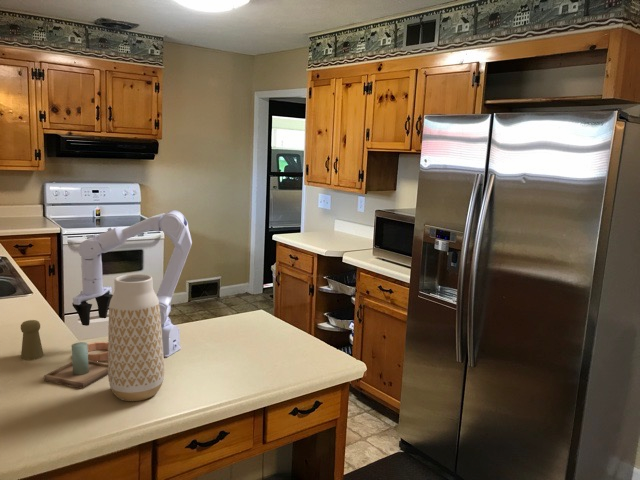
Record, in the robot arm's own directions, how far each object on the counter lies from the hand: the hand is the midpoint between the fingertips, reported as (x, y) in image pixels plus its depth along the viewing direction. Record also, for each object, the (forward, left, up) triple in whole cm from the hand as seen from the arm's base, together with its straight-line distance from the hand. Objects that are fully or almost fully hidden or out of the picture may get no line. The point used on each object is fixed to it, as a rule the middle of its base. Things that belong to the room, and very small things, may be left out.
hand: (94, 321), depth 165 cm
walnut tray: (-8, +15, -10) cm, 20 cm away
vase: (-29, +19, -10) cm, 36 cm away
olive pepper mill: (+15, +10, -10) cm, 20 cm away
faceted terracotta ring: (-2, +2, -10) cm, 10 cm away
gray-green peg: (-8, +15, -9) cm, 19 cm away
